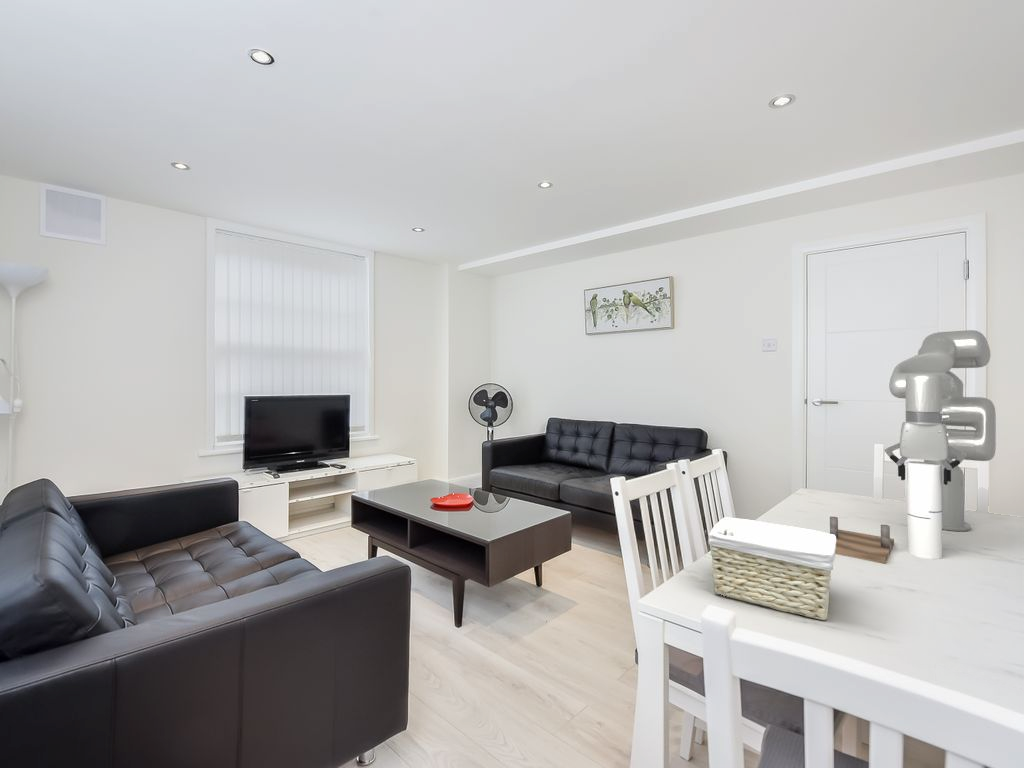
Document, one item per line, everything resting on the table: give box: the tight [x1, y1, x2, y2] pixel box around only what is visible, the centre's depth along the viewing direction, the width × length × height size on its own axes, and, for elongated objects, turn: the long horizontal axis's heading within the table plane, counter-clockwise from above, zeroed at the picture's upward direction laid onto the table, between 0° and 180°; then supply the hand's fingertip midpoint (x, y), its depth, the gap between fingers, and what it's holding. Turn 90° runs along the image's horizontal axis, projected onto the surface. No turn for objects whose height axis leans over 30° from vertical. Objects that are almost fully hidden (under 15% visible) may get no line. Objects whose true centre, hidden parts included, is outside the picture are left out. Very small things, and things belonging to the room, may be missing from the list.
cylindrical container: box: [906, 461, 943, 560], centre depth 130 cm, size 7×7×25 cm
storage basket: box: [707, 516, 836, 621], centre depth 107 cm, size 24×16×15 cm
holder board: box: [829, 516, 895, 564], centre depth 136 cm, size 20×14×8 cm
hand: (923, 481), depth 130 cm, fingers open, 8 cm apart
